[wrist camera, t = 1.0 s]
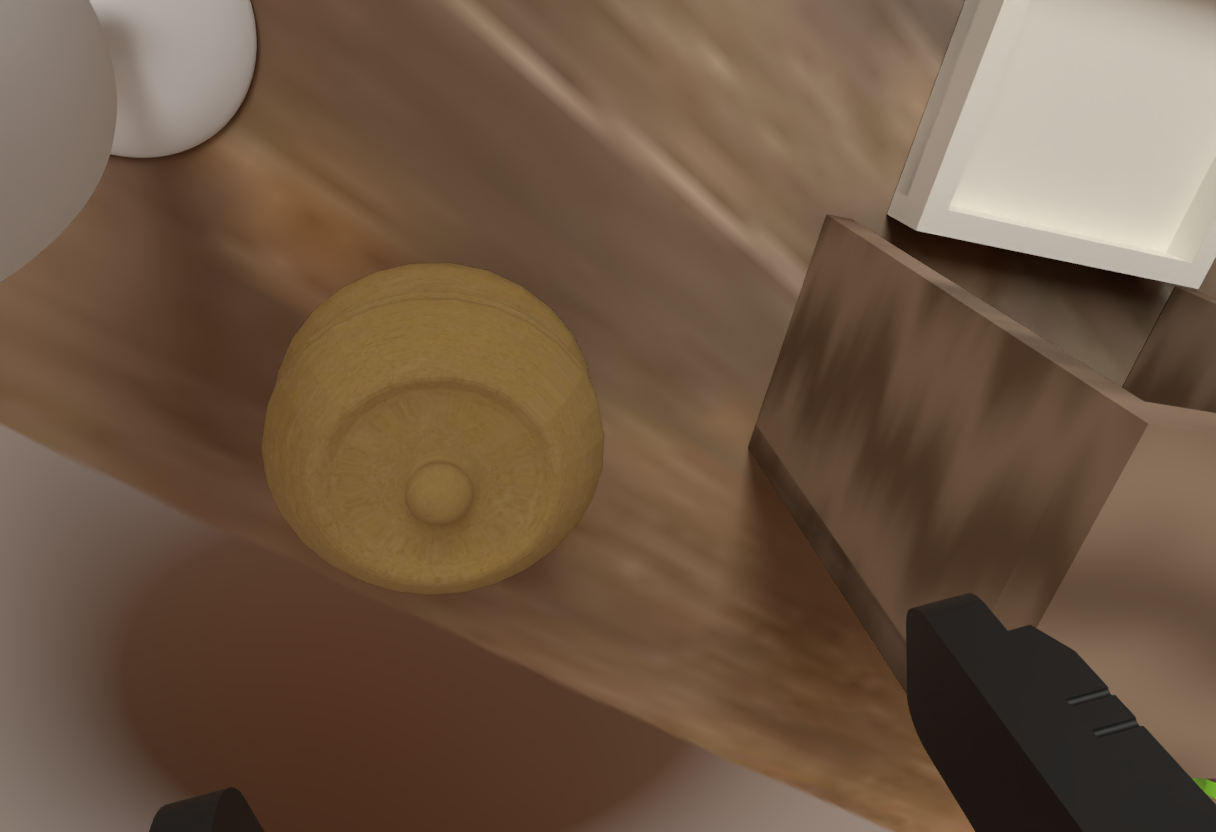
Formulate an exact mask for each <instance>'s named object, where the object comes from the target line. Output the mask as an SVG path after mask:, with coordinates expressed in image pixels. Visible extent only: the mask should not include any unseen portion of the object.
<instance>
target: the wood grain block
mask: <svg viewBox="0 0 1216 832" xmlns="http://www.w3.org/2000/svg"><path fill="white" fill-rule="evenodd" d="M748 448H749V449H750V451H751V452H752V454H753V455H754V457H755V459H756V460H757V462H758V463H759V465H760V466H761V468H762V469H763V471H764V473H765V474H766V476H767V477H768V479H769V480H770V482H771V483H772V485H773V487H774V488H775V490H776V491H777V493H778V494H779V496H780V497H781V499H782V501H783V502H784V504H785V505H786V507H787V508H788V510H789V511H790V513H791V515H792V516H793V518H794V519H795V521H796V522H797V524H798V525H799V527H800V529H801V530H802V532H803V533H804V535H805V536H806V538H807V539H808V541H809V543H810V544H811V546H812V547H813V549H814V550H815V552H816V553H817V555H818V557H819V558H820V560H821V561H822V563H823V564H824V566H825V567H826V569H827V571H828V572H829V574H830V575H831V577H832V578H833V580H834V581H835V583H836V585H837V586H838V588H839V589H840V591H841V592H842V594H843V595H844V597H845V599H846V600H847V602H848V603H849V605H850V606H851V608H852V609H853V611H854V613H855V614H856V616H857V617H858V619H859V620H860V622H861V623H862V625H863V627H864V628H865V630H866V631H867V633H868V634H869V636H870V637H871V639H872V641H873V642H874V644H875V645H876V647H877V648H878V650H879V651H880V653H881V655H882V656H883V658H884V659H885V661H886V662H887V664H888V665H889V667H890V669H891V670H892V672H893V673H894V675H895V676H896V678H897V679H898V681H899V683H900V684H901V686H902V687H903V689H904V690H905V692H906V693H907V656H906V616H907V612H908V610H909V609H910V608H914V607H917V606H921V605H925V604H929V603H932V602H936V601H940V600H944V599H947V598H951V597H955V596H959V595H962V594H966V593H972V594H974V595H976V596H978V597H979V598H980V599H981V600H982V601H983V602H984V603H985V604H986V605H987V607H988V608H989V609H990V610H991V611H992V613H993V614H994V615H995V616H996V617H997V618H998V620H999V621H1000V622H1001V623H1002V624H1003V626H1004V627H1005V628H1006V629H1007V630H1008V631H1009V630H1012V629H1016V628H1020V627H1023V626H1027V625H1032V626H1034V627H1035V628H1037V629H1039V630H1040V631H1042V632H1044V633H1045V634H1047V635H1049V636H1051V637H1052V638H1054V639H1056V640H1057V641H1059V642H1061V643H1062V644H1064V645H1066V646H1068V647H1069V648H1071V649H1073V650H1074V651H1076V652H1077V653H1078V655H1079V656H1080V657H1081V658H1082V659H1083V660H1084V661H1085V662H1086V663H1087V664H1088V665H1089V667H1090V668H1091V669H1092V670H1093V671H1094V672H1095V673H1096V674H1097V675H1098V676H1099V678H1100V679H1101V680H1102V681H1103V682H1104V683H1105V684H1106V685H1107V686H1108V689H1109V692H1110V693H1111V695H1116V696H1117V697H1118V698H1119V699H1120V700H1121V702H1122V703H1123V704H1124V705H1125V706H1126V707H1127V708H1128V709H1129V710H1130V711H1131V713H1132V714H1133V715H1134V716H1135V717H1136V720H1137V723H1138V724H1139V725H1140V726H1144V727H1145V728H1146V729H1147V730H1148V731H1149V732H1150V733H1151V734H1152V736H1153V737H1154V738H1155V739H1156V740H1157V741H1158V742H1159V743H1160V744H1161V745H1162V746H1163V748H1164V749H1165V750H1166V751H1167V752H1168V753H1169V754H1170V755H1171V756H1172V757H1173V758H1174V760H1175V761H1176V762H1177V763H1178V764H1179V765H1180V766H1181V767H1182V768H1183V769H1184V771H1185V772H1186V773H1187V774H1188V775H1189V776H1190V777H1191V778H1202V779H1216V299H1214V298H1212V297H1210V296H1207V295H1205V294H1203V293H1201V292H1198V291H1196V290H1191V289H1186V288H1181V287H1176V286H1175V288H1174V290H1173V292H1172V294H1171V296H1170V298H1169V300H1168V302H1167V304H1166V306H1165V307H1164V309H1163V311H1162V313H1161V315H1160V317H1159V319H1158V321H1157V323H1156V325H1155V326H1154V328H1153V330H1152V332H1151V334H1150V336H1149V338H1148V340H1147V342H1146V344H1145V346H1144V347H1143V349H1142V351H1141V353H1140V355H1139V357H1138V359H1137V361H1136V363H1135V365H1134V367H1133V368H1132V370H1131V372H1130V374H1129V376H1128V378H1127V380H1126V382H1125V384H1124V386H1123V387H1120V386H1119V385H1117V384H1115V383H1114V382H1112V381H1111V380H1109V379H1107V378H1106V377H1104V376H1102V375H1101V374H1099V373H1098V372H1096V371H1094V370H1093V369H1091V368H1090V367H1088V366H1086V365H1085V364H1083V363H1082V362H1080V361H1078V360H1077V359H1075V358H1074V357H1072V356H1070V355H1069V354H1067V353H1066V352H1064V351H1062V350H1061V349H1059V348H1058V347H1056V346H1054V345H1053V344H1051V343H1050V342H1048V341H1046V340H1045V339H1043V338H1042V337H1040V336H1038V335H1037V334H1035V333H1034V332H1032V331H1030V330H1029V329H1027V328H1025V327H1024V326H1022V325H1021V324H1019V323H1017V322H1016V321H1014V320H1013V319H1011V318H1009V317H1008V316H1006V315H1005V314H1003V313H1001V312H1000V311H998V310H997V309H995V308H993V307H992V306H990V305H989V304H987V303H985V302H984V301H982V300H981V299H979V298H977V297H976V296H974V295H973V294H971V293H969V292H968V291H966V290H965V289H963V288H961V287H960V286H958V285H957V284H955V283H953V282H952V281H950V280H948V279H947V278H945V277H944V276H942V275H940V274H939V273H937V272H936V271H934V270H932V269H931V268H929V267H928V266H926V265H924V264H923V263H921V262H920V261H918V260H916V259H915V258H913V257H912V256H910V255H908V254H907V253H905V252H904V251H902V250H900V249H899V248H897V247H896V246H894V245H892V244H891V243H889V242H888V241H886V240H884V239H883V238H881V237H880V236H878V235H876V234H875V233H873V232H871V231H870V230H868V229H867V228H865V227H863V226H862V225H860V224H859V223H857V222H855V221H854V220H851V219H846V218H841V217H836V216H832V215H827V216H826V219H825V222H824V224H823V227H822V230H821V233H820V236H819V239H818V242H817V245H816V248H815V251H814V254H813V257H812V260H811V263H810V266H809V269H808V272H807V275H806V278H805V281H804V284H803V287H802V290H801V293H800V296H799V299H798V302H797V304H796V307H795V310H794V313H793V316H792V319H791V322H790V325H789V328H788V331H787V334H786V337H785V340H784V343H783V346H782V349H781V352H780V355H779V358H778V361H777V364H776V367H775V370H774V373H773V376H772V379H771V382H770V385H769V387H768V390H767V393H766V396H765V399H764V402H763V405H762V408H761V411H760V414H759V417H758V420H757V423H756V426H755V429H754V432H753V435H752V438H751V441H750V444H749V447H748Z"/></svg>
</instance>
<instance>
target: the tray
mask: <svg viewBox="0 0 1216 832" xmlns="http://www.w3.org/2000/svg"><path fill="white" fill-rule="evenodd" d="M887 215H889V216H891V217H893V218H894V219H896V220H898V221H900V222H901V223H903V224H905V225H907V226H909V227H910V228H912V229H914V230H916V231H920V232H925V233H930V234H935V235H939V236H944V237H949V238H954V239H959V240H964V241H969V242H973V243H978V244H983V245H988V246H993V247H998V248H1002V249H1007V250H1012V251H1017V252H1022V253H1027V254H1031V255H1036V256H1041V257H1046V258H1051V259H1056V260H1060V261H1065V262H1070V263H1075V264H1080V265H1085V266H1090V267H1094V268H1099V269H1104V270H1109V271H1114V272H1119V273H1123V274H1128V275H1133V276H1138V277H1143V278H1148V279H1152V280H1157V281H1162V282H1167V283H1172V284H1177V285H1182V286H1186V287H1191V288H1196V289H1199V287H1200V285H1201V283H1202V281H1203V280H1204V278H1205V276H1206V274H1207V272H1208V270H1209V268H1210V267H1211V265H1212V263H1213V261H1214V259H1215V257H1216V0H965V3H964V5H963V8H962V11H961V14H960V16H959V19H958V22H957V25H956V27H955V30H954V33H953V35H952V38H951V41H950V44H949V46H948V49H947V52H946V55H945V57H944V60H943V63H942V65H941V68H940V71H939V74H938V76H937V79H936V82H935V85H934V87H933V90H932V93H931V95H930V98H929V101H928V104H927V106H926V109H925V112H924V115H923V117H922V120H921V123H920V125H919V128H918V131H917V134H916V136H915V139H914V142H913V145H912V147H911V150H910V153H909V155H908V158H907V161H906V164H905V166H904V169H903V172H902V175H901V177H900V180H899V183H898V185H897V188H896V191H895V194H894V196H893V199H892V202H891V205H890V207H889V210H888V213H887Z"/></svg>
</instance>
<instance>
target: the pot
mask: <svg viewBox="0 0 1216 832" xmlns="http://www.w3.org/2000/svg"><path fill="white" fill-rule="evenodd" d="M603 447H604V431H603V426H602V421H601V416H600V411H599V406H598V401H597V396H596V393H595V391H594V389H593V387H592V385H591V383H590V378H589V373H588V368H587V364H586V362H585V360H584V358H583V356H582V354H581V351H580V349H579V347H578V345H577V343H576V341H575V339H574V337H573V335H572V333H571V332H570V331H569V330H568V329H567V327H566V326H565V325H564V324H563V323H562V321H561V320H560V319H559V318H558V317H557V315H556V314H555V313H554V312H553V311H552V310H551V308H550V307H548V306H547V305H546V304H544V303H543V302H542V301H540V300H539V299H538V298H536V297H535V296H534V295H533V294H531V293H530V292H529V291H527V290H526V289H525V288H523V287H522V286H520V285H518V284H516V283H514V282H512V281H509V280H507V279H505V278H503V277H501V276H498V275H496V274H494V273H492V272H490V271H487V270H483V269H478V268H473V267H468V266H463V265H458V264H453V263H413V264H409V265H404V266H400V267H395V268H391V269H386V270H382V271H377V272H375V273H373V274H371V275H368V276H366V277H364V278H362V279H360V280H358V281H356V282H354V283H351V284H349V285H347V286H345V287H343V288H341V289H340V290H339V291H337V292H336V293H335V294H334V295H332V296H331V297H330V298H329V299H327V300H326V301H325V302H324V303H323V304H321V305H320V306H319V307H318V308H316V309H315V310H314V311H313V312H312V313H311V314H310V316H309V317H308V318H307V320H306V321H305V322H304V324H303V325H302V326H301V328H300V329H299V330H298V332H297V333H296V334H295V336H294V337H293V338H292V340H291V342H290V345H289V347H288V350H287V352H286V354H285V357H284V359H283V362H282V364H281V366H280V369H279V371H278V374H277V381H276V386H275V388H274V391H273V393H272V395H271V398H270V400H269V403H268V405H267V412H266V416H265V424H264V432H263V440H262V448H261V451H262V457H263V463H264V469H265V476H266V482H267V485H268V487H269V489H270V492H271V494H272V496H273V498H274V500H275V503H276V505H277V507H278V509H279V512H280V514H281V515H282V516H283V518H284V519H285V520H286V522H287V523H288V524H289V525H290V527H291V528H292V529H293V531H294V532H295V533H296V535H297V536H298V537H299V538H300V540H301V541H302V542H303V543H304V544H305V545H306V546H308V547H309V548H310V549H311V550H313V551H314V552H315V553H316V554H317V555H319V556H320V557H321V558H322V559H324V560H325V561H326V562H327V563H328V564H330V565H331V566H333V567H335V568H337V569H339V570H341V571H343V572H345V573H347V574H349V575H351V576H353V577H355V578H357V579H359V580H361V581H363V582H366V583H369V584H373V585H376V586H380V587H383V588H386V589H390V590H393V591H398V592H408V593H417V594H426V595H433V594H447V593H461V592H466V591H469V590H473V589H477V588H481V587H485V586H489V585H493V584H495V583H498V582H500V581H502V580H504V579H506V578H508V577H511V576H513V575H515V574H517V573H519V572H521V571H523V570H525V569H527V568H528V567H530V566H531V565H533V564H534V563H535V562H537V561H538V560H540V559H541V558H542V557H544V556H545V555H547V554H548V553H550V552H551V551H552V550H554V549H555V548H556V547H557V546H558V544H559V543H560V542H561V541H562V540H563V539H564V538H565V537H566V536H567V535H568V534H569V533H570V532H571V530H572V529H573V528H574V527H575V526H576V525H577V524H578V522H579V520H580V519H581V517H582V515H583V514H584V512H585V510H586V508H587V507H588V505H589V503H590V502H591V500H592V498H593V496H594V493H595V489H596V486H597V483H598V480H599V476H600V473H601V470H602V466H603Z"/></svg>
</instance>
